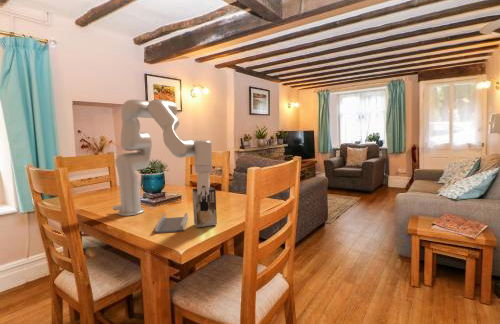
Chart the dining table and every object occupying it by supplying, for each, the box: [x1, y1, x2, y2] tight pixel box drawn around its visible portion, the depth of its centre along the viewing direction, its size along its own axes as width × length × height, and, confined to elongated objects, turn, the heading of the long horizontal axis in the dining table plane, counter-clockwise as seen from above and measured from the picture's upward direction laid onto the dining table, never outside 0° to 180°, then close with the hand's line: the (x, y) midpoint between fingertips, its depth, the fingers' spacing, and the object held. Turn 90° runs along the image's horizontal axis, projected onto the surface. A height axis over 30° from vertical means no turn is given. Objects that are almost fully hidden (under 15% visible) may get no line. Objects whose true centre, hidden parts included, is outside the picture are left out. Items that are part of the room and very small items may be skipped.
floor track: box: [154, 212, 189, 234], centre depth 124 cm, size 11×18×3 cm, turn 7°
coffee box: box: [192, 186, 218, 228], centre depth 123 cm, size 9×6×16 cm
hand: (204, 207), depth 123 cm, fingers closed on coffee box, 7 cm apart
